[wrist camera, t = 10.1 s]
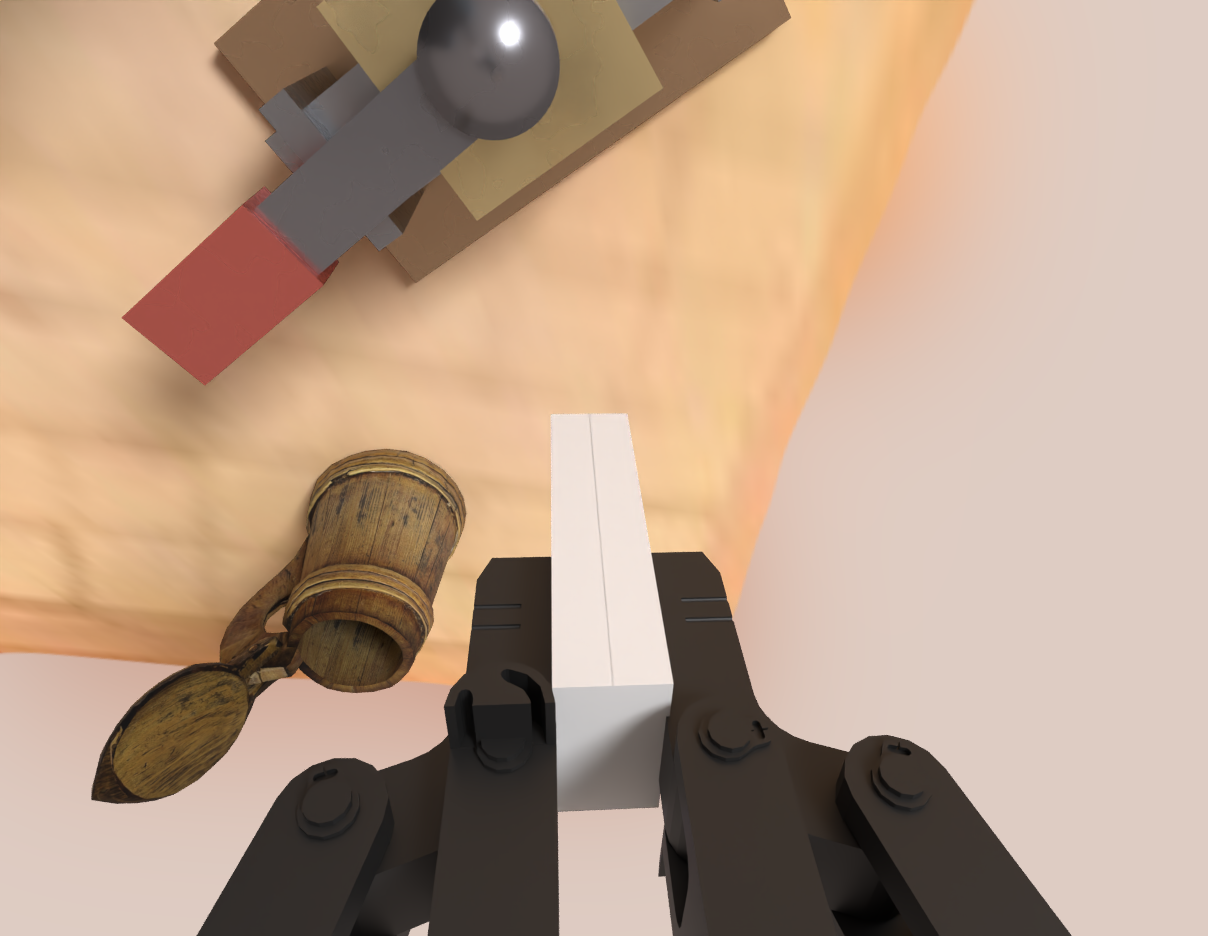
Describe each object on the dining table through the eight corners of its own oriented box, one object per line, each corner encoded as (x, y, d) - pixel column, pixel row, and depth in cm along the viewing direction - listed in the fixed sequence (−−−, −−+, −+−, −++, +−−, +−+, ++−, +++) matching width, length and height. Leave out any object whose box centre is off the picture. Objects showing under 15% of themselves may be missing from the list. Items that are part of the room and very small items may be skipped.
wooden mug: (215, 455, 42) (33, 731, 27) (456, 444, 42) (407, 709, 27) (259, 571, 47) (127, 856, 32) (473, 560, 47) (441, 835, 33)
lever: (500, -57, 21) (495, -58, 19) (585, 71, 23) (587, 81, 21) (140, 284, 26) (110, 308, 24) (236, 364, 28) (214, 393, 26)
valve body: (222, 41, 30) (102, 73, 22) (636, -333, 25) (681, -473, 17) (418, 275, 36) (382, 369, 28) (784, 16, 31) (870, 39, 23)
